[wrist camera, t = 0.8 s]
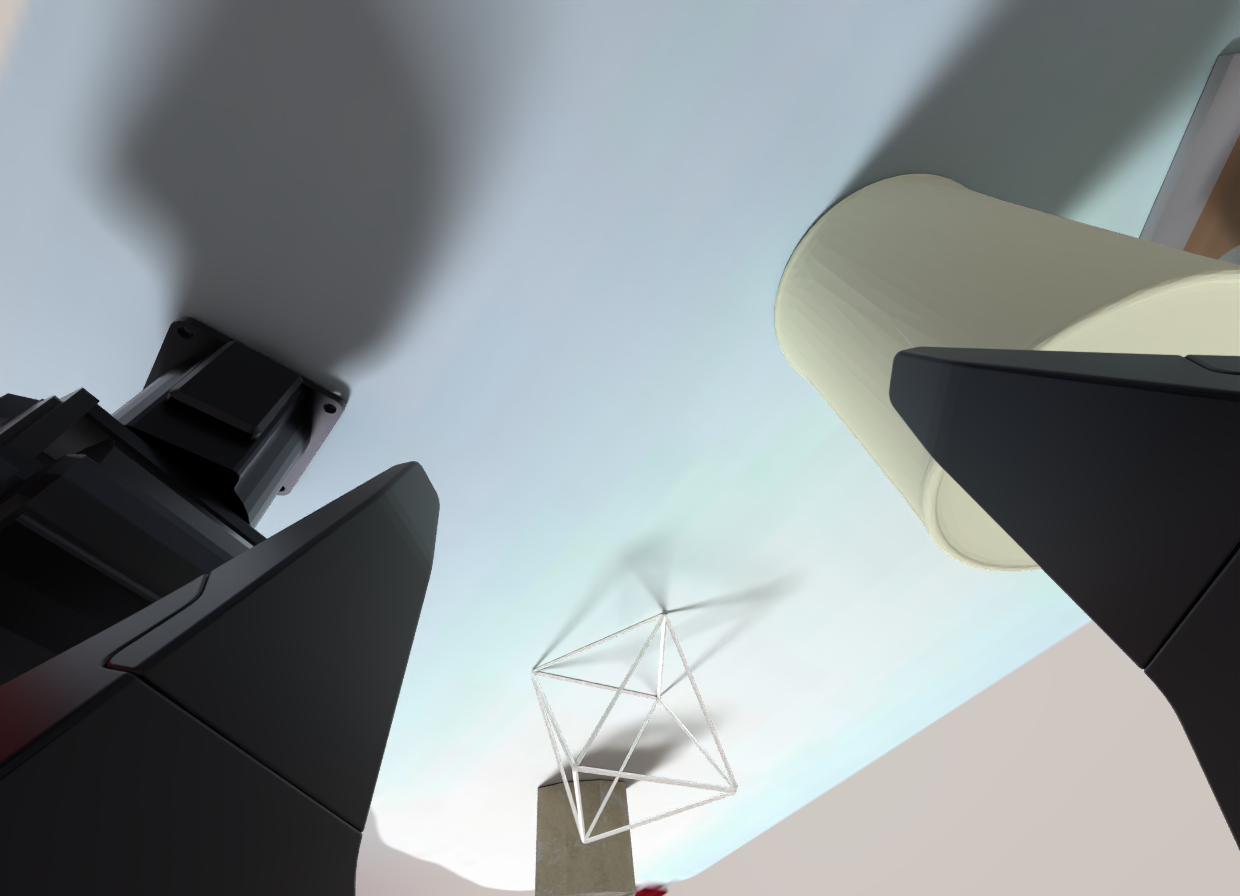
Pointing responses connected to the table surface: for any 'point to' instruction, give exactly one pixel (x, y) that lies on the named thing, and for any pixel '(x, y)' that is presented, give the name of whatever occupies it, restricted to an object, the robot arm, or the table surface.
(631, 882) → the padlock
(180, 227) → the table surface
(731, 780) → the geometric polyhedron
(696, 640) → the table surface
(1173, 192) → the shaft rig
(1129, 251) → the can
